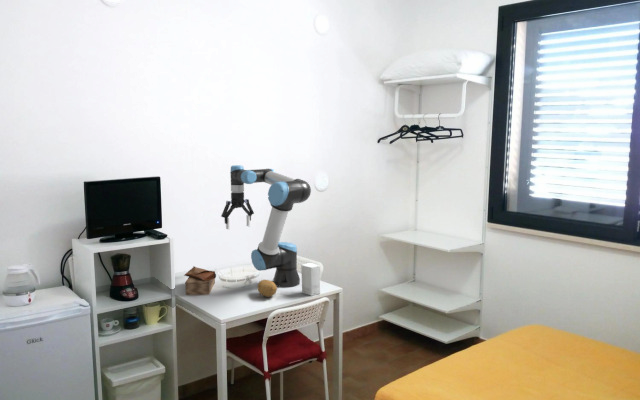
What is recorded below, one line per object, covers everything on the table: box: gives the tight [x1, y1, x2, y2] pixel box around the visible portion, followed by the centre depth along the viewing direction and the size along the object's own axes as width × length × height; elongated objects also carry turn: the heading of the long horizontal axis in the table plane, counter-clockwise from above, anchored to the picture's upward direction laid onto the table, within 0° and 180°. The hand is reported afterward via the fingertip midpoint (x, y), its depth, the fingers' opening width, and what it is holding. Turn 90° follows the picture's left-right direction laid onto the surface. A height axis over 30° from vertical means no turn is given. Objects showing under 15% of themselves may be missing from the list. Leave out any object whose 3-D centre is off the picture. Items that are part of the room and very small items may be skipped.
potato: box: [257, 279, 278, 298], centre depth 261 cm, size 10×14×8 cm
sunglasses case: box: [183, 265, 217, 281], centre depth 271 cm, size 18×7×7 cm, turn 55°
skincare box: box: [300, 262, 321, 297], centre depth 265 cm, size 8×7×16 cm
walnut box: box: [184, 270, 216, 296], centre depth 272 cm, size 12×20×7 cm, turn 3°
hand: (238, 227), depth 294 cm, fingers open, 13 cm apart
